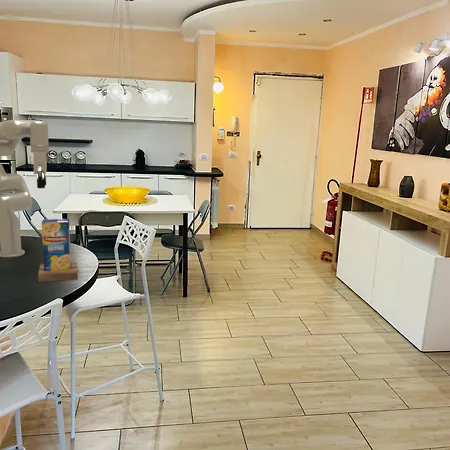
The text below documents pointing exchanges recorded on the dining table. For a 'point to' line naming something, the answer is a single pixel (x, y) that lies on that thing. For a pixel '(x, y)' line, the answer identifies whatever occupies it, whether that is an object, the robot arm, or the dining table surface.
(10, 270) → the dining table surface
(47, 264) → the beverage box
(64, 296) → the dining table surface
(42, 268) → the walnut base
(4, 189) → the robot arm
